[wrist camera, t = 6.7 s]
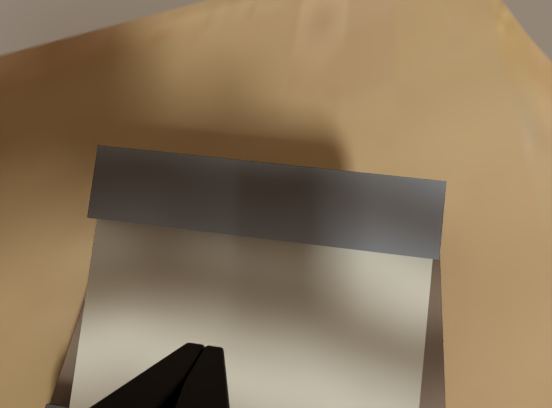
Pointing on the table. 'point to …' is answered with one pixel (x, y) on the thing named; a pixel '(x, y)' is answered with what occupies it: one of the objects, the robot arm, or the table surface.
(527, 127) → the table surface
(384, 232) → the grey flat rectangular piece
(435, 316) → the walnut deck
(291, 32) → the table surface
